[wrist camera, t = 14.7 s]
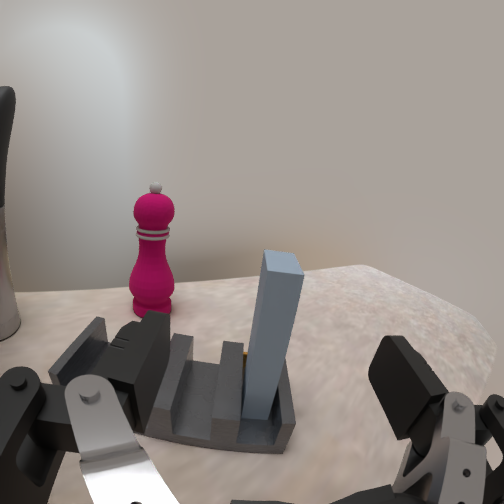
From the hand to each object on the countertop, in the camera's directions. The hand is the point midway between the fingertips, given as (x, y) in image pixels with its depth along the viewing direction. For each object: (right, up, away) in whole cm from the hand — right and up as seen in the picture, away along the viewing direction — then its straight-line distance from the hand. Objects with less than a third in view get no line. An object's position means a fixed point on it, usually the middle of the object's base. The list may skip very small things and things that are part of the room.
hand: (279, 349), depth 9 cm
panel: (-1, -11, +15) cm, 19 cm away
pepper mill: (-17, -6, +32) cm, 37 cm away
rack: (-9, -12, +15) cm, 21 cm away
